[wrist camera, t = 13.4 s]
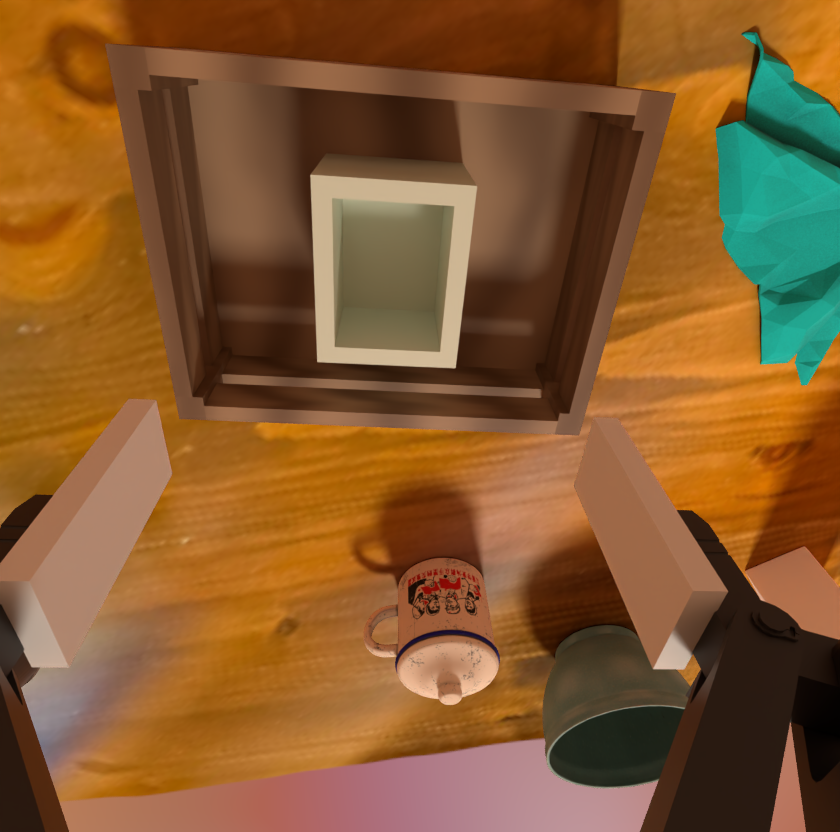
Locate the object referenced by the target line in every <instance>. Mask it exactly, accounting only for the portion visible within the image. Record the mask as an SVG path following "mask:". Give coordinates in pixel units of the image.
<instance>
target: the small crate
mask: <svg viewBox="0 0 840 832" xmlns="http://www.w3.org/2000/svg"><path fill="white" fill-rule="evenodd" d="M310 177H311V204H312V231H313V258H314V285H315V312H316V339H317V362H326V363H348V364H370V365H393V366H415V367H437V368H456V361H457V352H458V344H459V335H460V327H461V319H462V310H463V302H464V293H465V285H466V276H467V268H468V259H469V251H470V242H471V234H472V226H473V217H474V209H475V200H476V192H477V185H476V183H475V182H474V180H473V179H472V177H471V175H470V174H469V172H468V171H467V169H466V167H465V166H464V164H463V163H456V162H442V161H428V160H413V159H399V158H385V157H371V156H357V155H342V154H328V153H326V155H325V156H324V157H323V159H322V160H321V161H320V163H319V164H318V165H317V167H316V168H315V169H314V171H313V172H312V173H311V175H310Z"/></svg>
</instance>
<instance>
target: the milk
mask: <svg viewBox="0 0 840 832" xmlns="http://www.w3.org/2000/svg"><path fill="white" fill-rule="evenodd" d="M745 572H746V574H747V576H748V578H749V580H750V581H751V583H752V585H753V587H754V589H755V591H756V592H757V594H758V596H759V598H760V600H761V601H765V602H767V603H770V604H773V605H775V606H777V607H778V608H780V609H782V610H783V611H785V612H786V613H788V614H789V615H790V616H791V617H792V618H793V619H794V620H795V621H796V622H797V623H798V625H799V626H800V628H801V629H803V630H806V631H809V632H813V633H816V634H820V635H824V636H827V637H831V638H835V639H838V640H840V587H839V586H838V585H837V584H836V583H835V581H834V580H833V579H832V578H831V577H830V575H829V574H828V573H827V572H826V571H825V569H824V568H823V567H822V566H821V565H820V563H819V562H818V561H817V560H816V559H815V557H814V556H813V555H812V554H811V553H810V552H809V550H808V549H807V548H806V547H805V546H803V547H801V548H798V549H796V550H793V551H791V552H789V553H786V554H784V555H782V556H779V557H777V558H774V559H772V560H770V561H767V562H765V563H762V564H760V565H758V566H755V567H753V568H750V569H748V570H746V571H745Z"/></svg>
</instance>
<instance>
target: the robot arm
mask: <svg viewBox="0 0 840 832" xmlns="http://www.w3.org/2000/svg"><path fill="white" fill-rule="evenodd" d="M171 475H172V471H171V466H170V462H169V457H168V452H167V448H166V443H165V439H164V434H163V429H162V425H161V420H160V416H159V411H158V407H157V402H156V400H144V399H128V401H127V402H126V403H125V404H124V406H123V407H122V408H121V410H120V411H119V412H118V413H117V415H116V416H115V417H114V419H113V420H112V421H111V422H110V424H109V425H108V426H107V427H106V429H105V430H104V431H103V433H102V434H101V435H100V436H99V438H98V439H97V440H96V442H95V443H94V444H93V445H92V447H91V448H90V449H89V450H88V452H87V453H86V454H85V456H84V457H83V458H82V459H81V461H80V462H79V463H78V465H77V466H76V467H75V468H74V470H73V471H72V472H71V473H70V475H69V476H68V477H67V479H66V480H65V481H64V482H63V484H62V485H61V486H60V488H59V489H58V490H57V491H56V493H55V494H54V495H35V496H33V497H32V498H30V499H29V500H27V501H26V502H24V503H23V504H21V505H20V506H18V507H17V508H15V509H14V510H13V512H12V513H11V514H10V515H9V516H8V517H7V519H6V520H5V521H4V522H3V523H2V525H1V528H0V832H69V830H68V827H67V824H66V821H65V818H64V815H63V812H62V809H61V806H60V803H59V800H58V797H57V794H56V791H55V788H54V785H53V782H52V779H51V776H50V773H49V770H48V767H47V764H46V761H45V758H44V755H43V752H42V750H41V747H40V744H39V741H38V738H37V735H36V732H35V729H34V726H33V723H32V720H31V717H30V714H29V711H28V708H27V705H26V702H25V699H24V696H23V693H22V690H21V687H22V686H24V685H25V684H26V683H28V682H29V681H30V680H31V679H32V678H33V677H34V676H35V675H36V673H37V672H38V670H39V669H40V667H70V665H71V663H72V661H73V659H74V657H75V655H76V653H77V652H78V650H79V648H80V646H81V644H82V642H83V640H84V638H85V637H86V635H87V633H88V631H89V629H90V627H91V625H92V623H93V622H94V620H95V618H96V616H97V614H98V612H99V610H100V608H101V607H102V605H103V603H104V601H105V599H106V597H107V595H108V593H109V592H110V590H111V588H112V586H113V584H114V582H115V580H116V578H117V577H118V575H119V573H120V571H121V569H122V567H123V565H124V563H125V562H126V560H127V558H128V556H129V554H130V552H131V550H132V548H133V547H134V545H135V543H136V541H137V539H138V537H139V535H140V533H141V532H142V530H143V528H144V526H145V524H146V522H147V520H148V518H149V517H150V515H151V513H152V511H153V509H154V507H155V505H156V503H157V502H158V500H159V498H160V496H161V494H162V492H163V490H164V488H165V487H166V485H167V483H168V481H169V479H170V477H171ZM574 487H575V490H576V492H577V494H578V497H579V499H580V501H581V504H582V506H583V508H584V510H585V513H586V515H587V517H588V520H589V522H590V524H591V527H592V529H593V531H594V534H595V536H596V538H597V541H598V543H599V545H600V548H601V550H602V552H603V555H604V557H605V559H606V562H607V564H608V566H609V569H610V571H611V573H612V575H613V578H614V580H615V582H616V585H617V587H618V589H619V592H620V594H621V596H622V599H623V601H624V603H625V606H626V608H627V610H628V613H629V615H630V617H631V620H632V622H633V624H634V627H635V629H636V631H637V633H638V636H639V638H640V640H641V643H642V645H643V647H644V650H645V652H646V654H647V657H648V659H649V661H650V664H651V666H652V668H653V669H685V667H686V665H687V663H688V662H689V660H690V658H691V656H692V655H693V654H694V656H695V658H696V660H697V662H698V664H699V666H700V668H701V670H700V672H699V673H698V675H697V677H696V679H695V680H694V682H693V684H692V685H691V687H690V689H689V690H688V692H687V694H686V695H685V696H686V697H688V698H689V699H688V701H687V704H686V707H685V710H684V712H683V715H682V718H681V721H680V723H679V726H678V729H677V732H676V734H675V737H674V740H673V743H672V745H671V748H670V751H669V754H668V756H667V759H666V762H665V765H664V767H663V770H662V773H661V775H660V778H659V781H658V784H657V787H656V789H655V792H654V795H653V797H652V800H651V803H650V806H649V809H648V811H647V814H646V817H645V819H644V822H643V825H642V828H641V830H640V832H770V827H771V821H772V816H773V811H774V805H775V799H776V794H777V788H778V783H779V778H780V773H781V767H782V762H783V757H784V751H785V746H786V740H787V735H788V730H789V724H790V722H791V727H792V733H793V740H794V748H795V755H796V762H797V769H798V777H799V784H800V790H801V798H802V805H803V812H804V820H805V827H806V832H840V640H838V639H835V638H831V637H827V636H824V635H820V634H816V633H813V632H809V631H806V630H803V629H801V628H800V626H799V625H798V623H797V622H796V621H795V620H794V619H793V618H792V617H791V616H790V615H789V614H788V613H786V612H785V611H783V610H782V609H780V608H778V607H777V606H775V605H773V604H770V603H767V602H765V601H761V600H760V598H759V597H758V595H757V594H756V592H755V591H754V590H753V588H752V587H751V585H750V584H749V582H748V581H747V579H746V578H745V576H744V575H743V573H742V572H741V571H740V569H739V568H738V566H737V565H736V563H735V562H734V560H733V559H732V557H731V556H730V555H728V552H727V550H726V549H725V547H724V546H723V544H722V543H720V542H719V539H718V537H717V536H716V534H715V533H714V531H713V530H712V528H711V527H710V525H709V524H708V523H706V522H705V521H704V520H703V519H702V518H700V517H699V516H698V515H697V514H696V513H694V512H693V511H689V510H676V509H675V507H674V506H673V504H672V502H671V501H670V499H669V498H668V496H667V495H666V493H665V491H664V490H663V488H662V487H661V485H660V484H659V482H658V480H657V479H656V477H655V476H654V474H653V473H652V471H651V469H650V468H649V466H648V465H647V463H646V462H645V460H644V458H643V457H642V455H641V454H640V452H639V451H638V449H637V447H636V446H635V444H634V443H633V441H632V440H631V438H630V436H629V435H628V433H627V432H626V430H625V429H624V427H623V425H622V424H621V422H620V421H619V419H618V418H602V417H594V419H593V422H592V425H591V429H590V432H589V436H588V439H587V443H586V446H585V449H584V453H583V456H582V460H581V463H580V466H579V470H578V473H577V477H576V480H575V484H574Z"/></svg>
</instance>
